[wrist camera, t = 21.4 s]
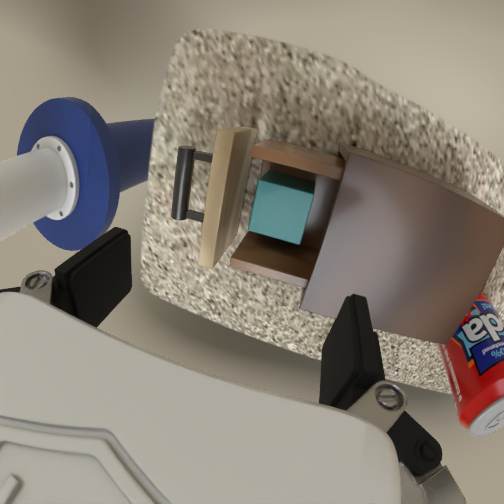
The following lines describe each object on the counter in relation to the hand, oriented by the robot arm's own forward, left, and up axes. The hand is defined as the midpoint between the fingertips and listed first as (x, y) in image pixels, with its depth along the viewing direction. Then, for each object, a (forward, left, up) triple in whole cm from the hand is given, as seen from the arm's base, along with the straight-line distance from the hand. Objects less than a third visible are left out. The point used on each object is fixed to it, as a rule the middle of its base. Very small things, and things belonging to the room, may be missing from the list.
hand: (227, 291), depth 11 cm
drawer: (0, 0, -15) cm, 15 cm away
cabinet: (+11, 0, -16) cm, 19 cm away
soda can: (+24, -7, -16) cm, 29 cm away
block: (+1, 0, -14) cm, 14 cm away
